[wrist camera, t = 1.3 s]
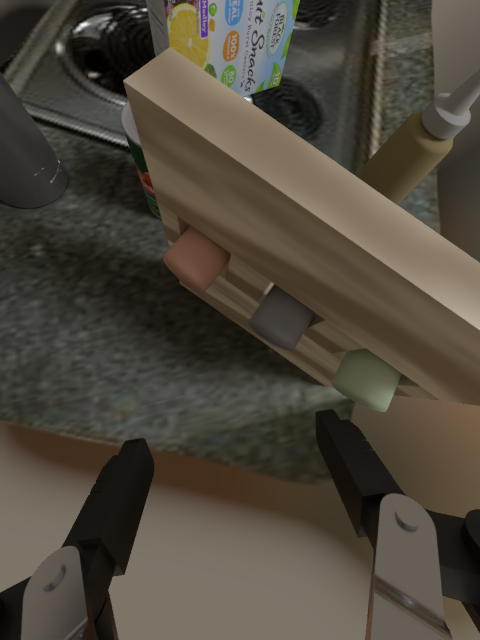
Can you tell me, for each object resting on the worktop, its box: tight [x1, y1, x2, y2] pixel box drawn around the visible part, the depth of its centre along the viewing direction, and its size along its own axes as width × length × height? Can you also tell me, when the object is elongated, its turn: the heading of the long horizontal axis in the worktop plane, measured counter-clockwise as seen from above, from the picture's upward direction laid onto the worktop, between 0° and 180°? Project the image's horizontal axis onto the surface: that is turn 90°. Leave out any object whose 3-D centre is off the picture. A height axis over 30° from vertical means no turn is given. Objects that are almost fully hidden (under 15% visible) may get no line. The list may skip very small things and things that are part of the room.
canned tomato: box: [121, 100, 162, 220], centre depth 28 cm, size 8×8×11 cm
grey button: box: [249, 284, 315, 351], centre depth 18 cm, size 4×4×4 cm
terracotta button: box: [163, 226, 231, 292], centre depth 18 cm, size 4×4×4 cm
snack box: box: [146, 0, 300, 97], centre depth 32 cm, size 21×6×15 cm, turn 124°
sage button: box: [331, 348, 402, 412], centre depth 18 cm, size 4×4×4 cm
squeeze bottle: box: [356, 70, 480, 205], centre depth 30 cm, size 8×8×18 cm
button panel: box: [123, 47, 480, 405], centre depth 21 cm, size 10×24×22 cm, turn 56°
